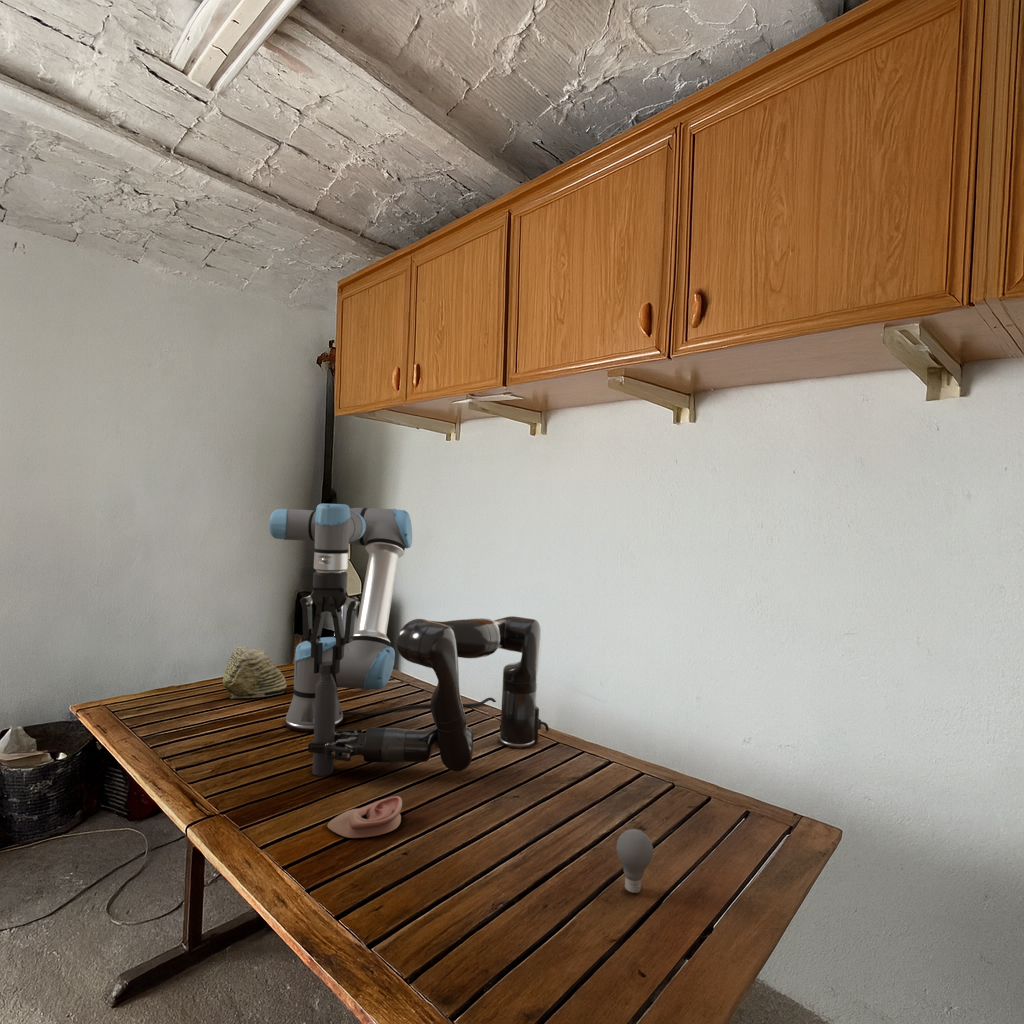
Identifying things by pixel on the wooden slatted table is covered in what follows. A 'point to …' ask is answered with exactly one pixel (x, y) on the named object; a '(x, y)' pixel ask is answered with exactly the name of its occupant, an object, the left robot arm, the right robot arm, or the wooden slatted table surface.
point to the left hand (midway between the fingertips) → (326, 672)
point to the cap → (325, 667)
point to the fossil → (252, 674)
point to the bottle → (324, 722)
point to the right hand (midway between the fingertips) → (312, 742)
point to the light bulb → (634, 857)
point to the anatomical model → (369, 819)
